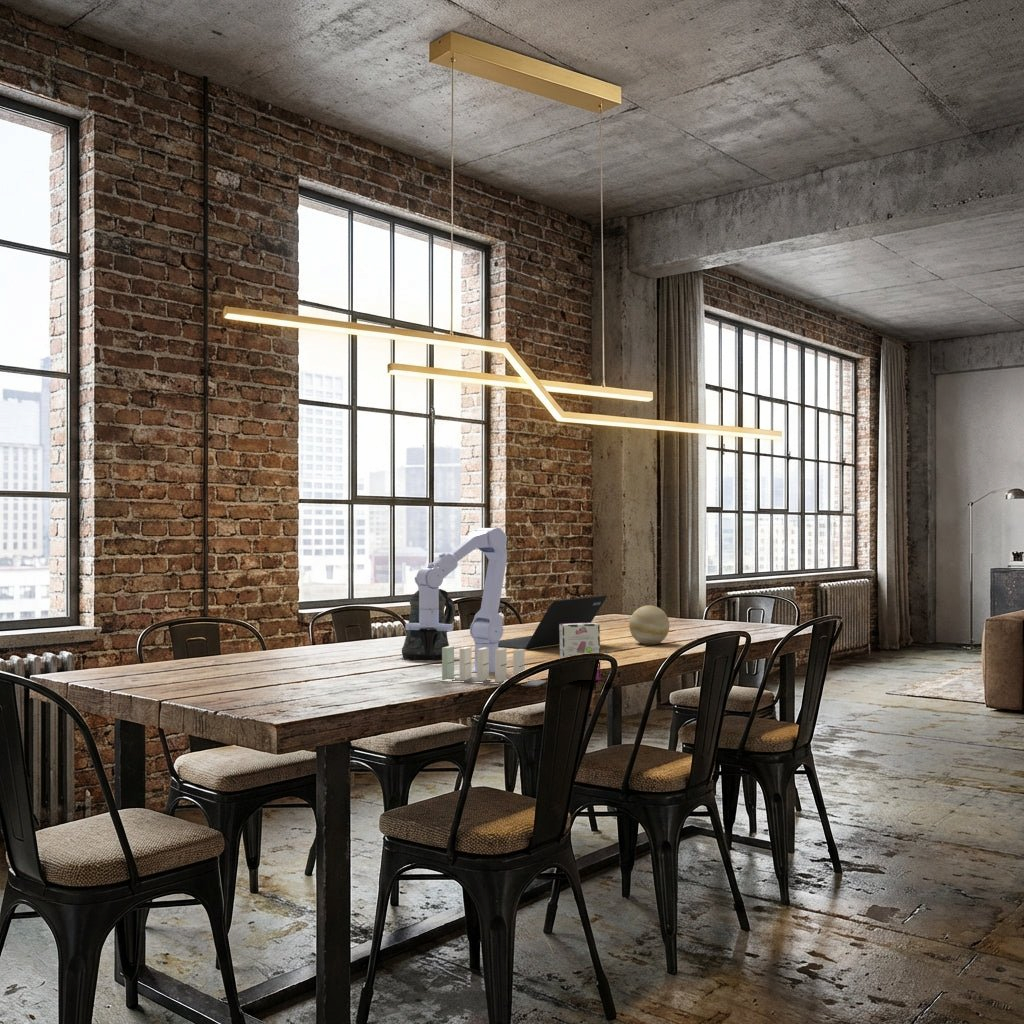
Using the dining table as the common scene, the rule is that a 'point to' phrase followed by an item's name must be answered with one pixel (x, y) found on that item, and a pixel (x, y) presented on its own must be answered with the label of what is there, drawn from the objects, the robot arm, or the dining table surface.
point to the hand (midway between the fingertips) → (429, 655)
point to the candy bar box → (580, 640)
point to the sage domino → (447, 662)
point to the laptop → (557, 622)
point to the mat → (531, 683)
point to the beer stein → (413, 643)
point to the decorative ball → (649, 625)
